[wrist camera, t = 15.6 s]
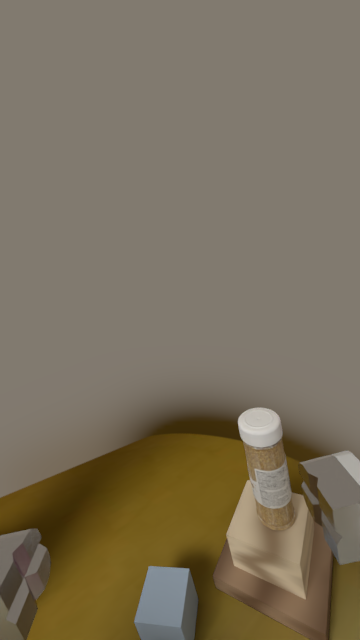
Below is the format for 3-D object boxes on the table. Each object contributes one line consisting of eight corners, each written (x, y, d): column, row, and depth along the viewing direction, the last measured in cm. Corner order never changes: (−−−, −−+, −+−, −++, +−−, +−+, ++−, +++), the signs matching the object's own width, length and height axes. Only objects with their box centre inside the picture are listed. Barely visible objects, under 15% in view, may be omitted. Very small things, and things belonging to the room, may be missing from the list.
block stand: (215, 587, 33) (203, 544, 31) (246, 502, 42) (238, 466, 40) (328, 648, 26) (320, 597, 24) (334, 530, 35) (329, 488, 34)
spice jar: (257, 495, 35) (239, 406, 32) (294, 498, 34) (279, 405, 30) (256, 530, 31) (234, 432, 28) (298, 536, 29) (281, 432, 26)
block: (146, 654, 29) (134, 621, 27) (159, 595, 33) (149, 566, 32) (192, 660, 27) (180, 627, 26) (198, 599, 32) (189, 568, 31)
